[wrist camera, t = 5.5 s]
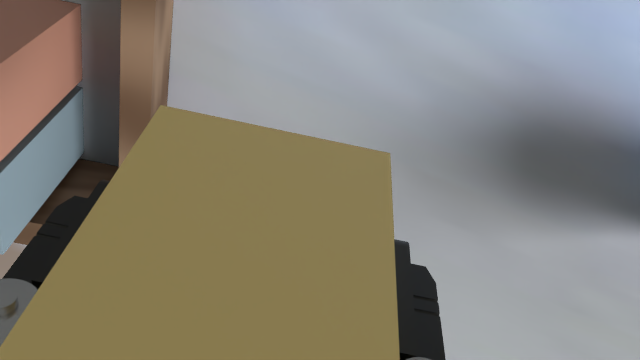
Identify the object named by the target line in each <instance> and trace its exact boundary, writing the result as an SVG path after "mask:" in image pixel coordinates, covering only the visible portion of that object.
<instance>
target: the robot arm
mask: <svg viewBox="0 0 640 360" xmlns="http://www.w3.org/2000/svg"><path fill="white" fill-rule="evenodd" d="M109 182H110V181H107V180H101V181H100V182H99V183H98V184H97V186H96V187H95V189H94V190H93V191H92V193H91V194H90V196H89V197H88V198H84V197H79V196H73V197H72V198H70V199H68V200H67V201H65V202H63V203H62V204H60V205H58V206H57V207H56V208H55V209H54V210H53V212H52V213H51V214H50V216H49V217H48V218H47V220H46V221H45V224H43V225H42V226H41V228H40V229H39V230H38V232H37V234H36V236H34V237H33V238H32V240H31V241H30V242H29V244H28V245H27V246H26V248H25V249H24V250H23V252H22V253H21V254H20V256H19V257H18V258H17V260H16V261H15V262H14V264H13V265H12V266H11V268H10V269H9V270H8V272H7V273H6V274H5V276H4V277H3V278H2V279H0V346H1V345H2V343H3V342H4V340H5V339H6V337H7V336H8V334H9V333H10V331H11V330H12V328H13V327H14V325H15V324H16V322H17V321H18V319H19V318H20V316H21V315H22V313H23V312H24V310H25V309H26V307H27V306H28V304H29V303H30V301H31V300H32V298H33V297H34V295H35V294H36V292H37V291H38V289H39V288H40V286H41V285H42V283H43V282H44V280H45V279H46V277H47V276H48V274H49V273H50V271H51V270H52V268H53V267H54V265H55V264H56V262H57V260H58V259H59V257H60V256H61V254H62V253H63V251H64V250H65V248H66V247H67V245H68V244H69V242H70V241H71V239H72V238H73V236H74V235H75V233H76V232H77V230H78V229H79V227H80V226H81V224H82V223H83V221H84V220H85V218H86V217H87V215H88V214H89V212H90V211H91V209H92V208H93V206H94V205H95V203H96V202H97V200H98V199H99V197H100V196H101V194H102V193H103V191H104V190H105V188H106V187H107V185H108V184H109ZM394 246H395V268H396V289H397V311H398V332H399V354H400V360H445V352H444V344H443V336H442V328H441V321H440V317H439V305H438V303H437V301H438V297H437V289H436V283H435V281H434V279H433V278H432V276H431V275H430V273H429V271H428V270H427V268H426V267H425V266H420V265H415V264H411V262H410V249H409V243H408V242H405V241H400V240H395V239H394Z"/></svg>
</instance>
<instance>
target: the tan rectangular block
mask: <svg viewBox="0 0 640 360" xmlns="http://www.w3.org/2000/svg"><path fill="white" fill-rule="evenodd" d="M0 360H400V354H399V332H398V311H397V289H396V268H395V246H394V225H393V203H392V182H391V160H390V153H387V152H382V151H377V150H372V149H367V148H363V147H358V146H353V145H348V144H344V143H339V142H334V141H329V140H325V139H320V138H315V137H310V136H306V135H301V134H296V133H291V132H287V131H282V130H277V129H272V128H267V127H263V126H258V125H253V124H248V123H244V122H239V121H234V120H229V119H225V118H220V117H215V116H210V115H206V114H201V113H196V112H191V111H187V110H182V109H177V108H172V107H167V106H163V105H160V107H159V108H158V110H157V111H156V113H155V114H154V116H153V117H152V119H151V120H150V122H149V123H148V125H147V126H146V128H145V129H144V131H143V132H142V134H141V135H140V137H139V138H138V140H137V141H136V143H135V144H134V146H133V147H132V149H131V150H130V152H129V153H128V155H127V156H126V158H125V160H124V161H123V163H122V164H121V166H120V167H119V169H118V170H117V172H116V173H115V175H114V176H113V178H112V179H111V181H110V182H109V184H108V185H107V187H106V188H105V190H104V191H103V193H102V194H101V196H100V197H99V199H98V200H97V202H96V203H95V205H94V206H93V208H92V209H91V211H90V212H89V214H88V215H87V217H86V218H85V220H84V221H83V223H82V224H81V226H80V227H79V229H78V230H77V232H76V233H75V235H74V236H73V238H72V239H71V241H70V242H69V244H68V245H67V247H66V248H65V250H64V251H63V253H62V254H61V256H60V257H59V259H58V260H57V262H56V264H55V265H54V267H53V268H52V270H51V271H50V273H49V274H48V276H47V277H46V279H45V280H44V282H43V283H42V285H41V286H40V288H39V289H38V291H37V292H36V294H35V295H34V297H33V298H32V300H31V301H30V303H29V304H28V306H27V307H26V309H25V310H24V312H23V313H22V315H21V316H20V318H19V319H18V321H17V322H16V324H15V325H14V327H13V328H12V330H11V331H10V333H9V334H8V336H7V337H6V339H5V340H4V342H3V343H2V345H1V346H0Z"/></svg>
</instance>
